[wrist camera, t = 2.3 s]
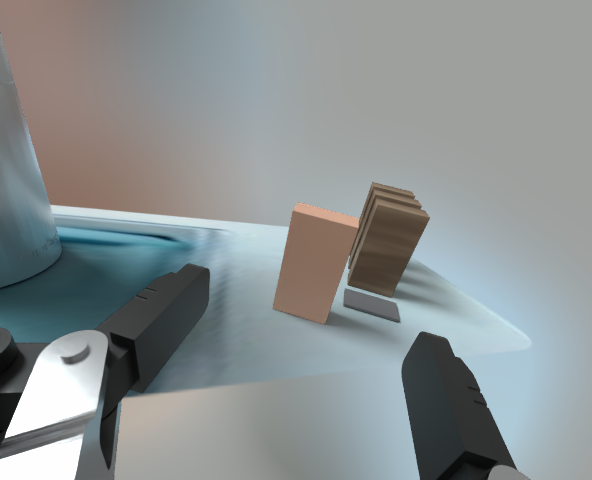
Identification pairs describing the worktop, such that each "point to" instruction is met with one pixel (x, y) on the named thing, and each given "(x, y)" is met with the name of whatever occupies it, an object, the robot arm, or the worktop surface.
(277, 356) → the worktop surface
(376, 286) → the walnut domino
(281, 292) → the salmon pink domino
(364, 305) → the pad
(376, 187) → the walnut domino
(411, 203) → the walnut domino
